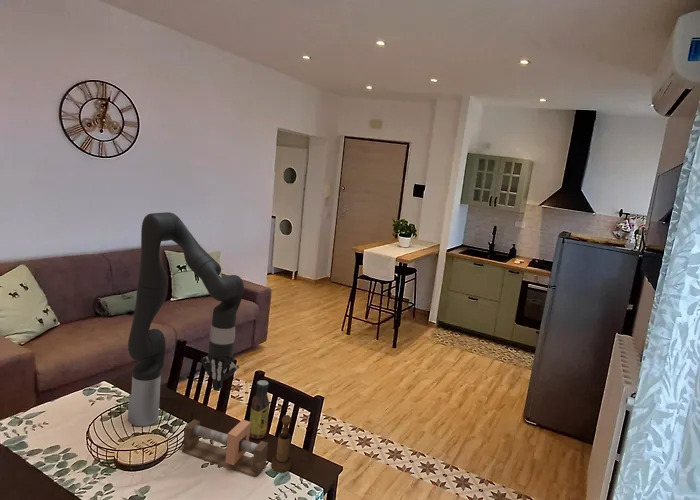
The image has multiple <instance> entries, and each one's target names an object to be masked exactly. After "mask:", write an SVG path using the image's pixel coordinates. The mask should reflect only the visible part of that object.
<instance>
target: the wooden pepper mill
mask: <svg viewBox="0 0 700 500" xmlns="http://www.w3.org/2000/svg"><path fill="white" fill-rule="evenodd" d="M281 422H282V425H283V427H281V432H280V433H279V434H278V439H277V447H276V454H275V455H274V456H273V457H272V459H271V462H270V468H271V470H272V469H273V470H272V471H274V472H275V471H276V472H275V473H278V472H281V474H285V473H288V472H290V471H291V469H292V466H293V459H292V457H291V456H290V446H291V439H292V437H291V436H292V435H291V433H290V428H289V426H290V424H291V423H292V417H291V415H288V414H285V415H283V417H281ZM282 472H283V473H282ZM284 472H285V473H284Z"/></svg>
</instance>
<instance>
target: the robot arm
mask: <svg viewBox="0 0 700 500" xmlns="http://www.w3.org/2000/svg"><path fill="white" fill-rule="evenodd" d="M140 232H141V233H140V236H141V237H140V239H141V241H140V264H139V272H138V273H139V274H138V280H137V288H136V289H137V290H136V299H135V305H134V306H135V307H134V312H133V313H134V314H133V319H132V322H131V323H132V324H131V328H130V331H129V337H128V342H127V343H128V344H127V349H128V354H129V356H130V358H131V360H133V361H135V362H138V363H136V364H135V365H134V366H133V368H132V375H131V393H130V394H129V395H128V407H127V420H128V421H130V423H131V424H132V425H133V426H136V427H148V426H152V425H154V424H155V423H157V422H158V420H159V415H160V414H159V413H160V397H161V395H160V394H161V379H162V378H161V375H162V370H163V368H164V365H165V363H164V362H165V355H166V347H167V346H166V344H167V343H166V337H165V335H164V333H163V332H162V330H160V329H159V328H151V324H152V323H153V320H154V319H155V317H156V315H157V314H158V312H159V311H160V310H161V308H162V307H163V305H164V303H165V301H166V299H167V294H168V286H169V277H168V274H167V272H166V269H165V268H164V266H163V264H162V262H161V258H160V253H161V252H160V251H161V244H162V242H168V241H172V242H174V243H175V244H177V245H178V247H180V248H181V249H182V251H183V257H184V260H185V264H186V265H187V266H188V268H189V269H190V270H191V271H192V272H193V273H194V274H195V275H196V276H197V277H198V278H199V279H201V281H202V283H203V286H204V287H205V289H206V290H207V293H208V294H209V296H210V297H211V298H212V299H214V300H216V301H218V302H220V303H219V304H217V305H216V306H215V307H214V308H213V311H212V320H211V327H210V330H209V331H210V332H209V343H208V353H207V355H206V356H204V357H202V358H201V359H200V363H201V365H202V367H203V369H204V370H205V372H206V374H207V375H208V377H212V385H211V386H212V388H213V390H214V391H216V392H219V391H220V390H221V389H223V387H224V386H223V385H224V381H226V380H227V379H229V378H230V377H231V376H233V374H234V373H235V372H236V371H238V370H239V368H240V365H237V364H235V363H234V358H233V354H234V350H235V349H234V348H235V341H236V320H237V313H238V310H239V307H240V305H241V302H242V299H243V295H244V292H245V285H244V281H243V280H242V277H240V276H239V275H236V274H231V275H226V276H220V275H221V272H222V267H221V265H220V264H219V263H218V262H217V260H216V259H214V258H213V256H211V255H210V254H209V253H208V252H207V251H206V250H205V249H204V248H203V247H202V246H201V244H200V243H199V242H198V240H196V238H195V237H194V235H193V234H192V233H191V232H190V230H189V229H188V227H187V226H186V225H185V223H184V222H183V220H181V218H180V217H179V216H178V215H176V214H175V213H174V212H152V213H148V214H147V215H145V216H144V218H143V220H142V223H141V231H140ZM150 328H151V329H150ZM228 369H229V371H228V372H227V370H228ZM226 372H227V373H226Z"/></svg>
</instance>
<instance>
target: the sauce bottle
mask: <svg viewBox="0 0 700 500" xmlns="http://www.w3.org/2000/svg"><path fill="white" fill-rule="evenodd" d="M269 385H270V384H269V382H268V380H265V379H263V380H262V379H261V380H258V381H256V392H255V393H256V394H254V397H252V401H251V406H250V417H249V422H251V425H250V435H249V438H252V439H257V440H258V439H259V440H260V439H262V438H265V437H266V434H267V431H268V422H269V421H268V420H269V413H270V412H269V411H270V401H269V400H270V399H269V396H268V395H269V394H268V390H269V389H268V388H269Z"/></svg>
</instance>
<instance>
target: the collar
mask: <svg viewBox="0 0 700 500" xmlns="http://www.w3.org/2000/svg"><path fill="white" fill-rule="evenodd" d="M250 425H251V422H250V420H249V421H248V420H245V419H242V420H240V422H238V423H237V424H236V425H235V426H234V427H233V428H232V429H231V430H230V431H229V432H227V434H228V437H227V445H226V447H225V449H226V460H225V463H228V464H231V465H234V464H235V463H236V462H237V461H238V460H239V459H240V458H241V457H242V456H243V455H245V454H246V453H247V451H244V450H240V449H239V442H240V441H241V440H242V439H243V440H246V441H250Z"/></svg>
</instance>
